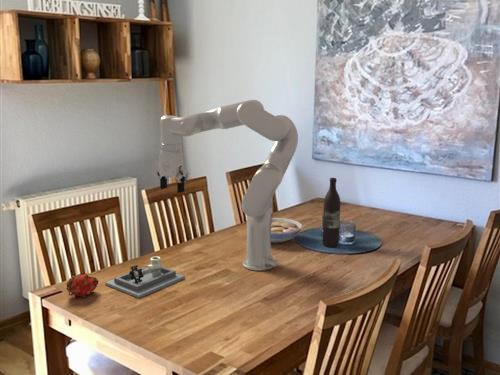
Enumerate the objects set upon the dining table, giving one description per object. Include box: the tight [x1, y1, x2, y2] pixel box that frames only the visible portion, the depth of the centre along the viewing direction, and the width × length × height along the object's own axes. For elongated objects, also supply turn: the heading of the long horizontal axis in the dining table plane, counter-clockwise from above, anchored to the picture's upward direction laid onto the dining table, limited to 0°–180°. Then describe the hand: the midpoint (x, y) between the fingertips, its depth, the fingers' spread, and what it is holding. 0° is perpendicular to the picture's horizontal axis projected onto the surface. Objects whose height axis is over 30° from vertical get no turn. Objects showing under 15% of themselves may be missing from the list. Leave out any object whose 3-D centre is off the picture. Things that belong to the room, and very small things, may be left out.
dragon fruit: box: [65, 273, 99, 298], centre depth 186 cm, size 8×8×12 cm
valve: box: [128, 256, 163, 283], centre depth 198 cm, size 7×7×12 cm
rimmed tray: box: [104, 264, 186, 299], centre depth 198 cm, size 18×22×3 cm
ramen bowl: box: [271, 215, 303, 244], centre depth 244 cm, size 25×23×8 cm
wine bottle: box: [321, 177, 341, 248], centre depth 235 cm, size 7×7×30 cm
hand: (172, 190), depth 216 cm, fingers open, 9 cm apart
